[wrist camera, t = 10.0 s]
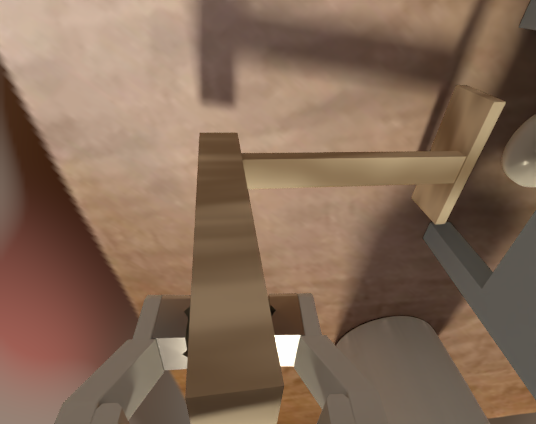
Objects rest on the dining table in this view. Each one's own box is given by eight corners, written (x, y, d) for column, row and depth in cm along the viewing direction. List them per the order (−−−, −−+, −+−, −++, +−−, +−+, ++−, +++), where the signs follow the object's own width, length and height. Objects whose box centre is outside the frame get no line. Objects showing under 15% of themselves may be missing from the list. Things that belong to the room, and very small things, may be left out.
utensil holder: (429, 295, 37) (547, 493, 23) (448, 353, 45) (543, 525, 31) (312, 336, 40) (351, 530, 26) (350, 383, 48) (394, 550, 34)
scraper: (195, 78, 18) (167, 313, 6) (466, 85, 21) (860, 252, 8) (204, 205, 24) (200, 473, 11) (420, 197, 26) (616, 404, 14)
